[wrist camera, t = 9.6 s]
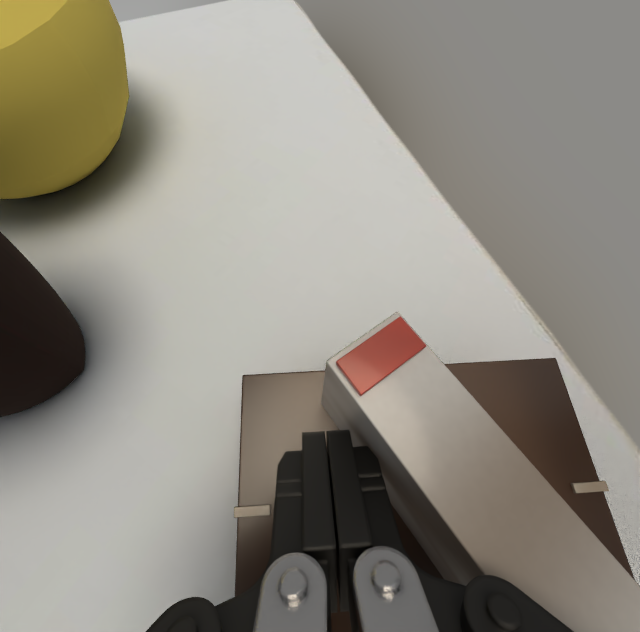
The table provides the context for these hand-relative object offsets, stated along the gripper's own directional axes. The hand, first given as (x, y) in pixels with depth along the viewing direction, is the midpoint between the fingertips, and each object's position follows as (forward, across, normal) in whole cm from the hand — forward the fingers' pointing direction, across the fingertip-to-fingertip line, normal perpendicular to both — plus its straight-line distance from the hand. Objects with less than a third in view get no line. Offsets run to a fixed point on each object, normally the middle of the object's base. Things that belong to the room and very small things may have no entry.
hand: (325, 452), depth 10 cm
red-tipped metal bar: (+1, -4, +4) cm, 6 cm away
